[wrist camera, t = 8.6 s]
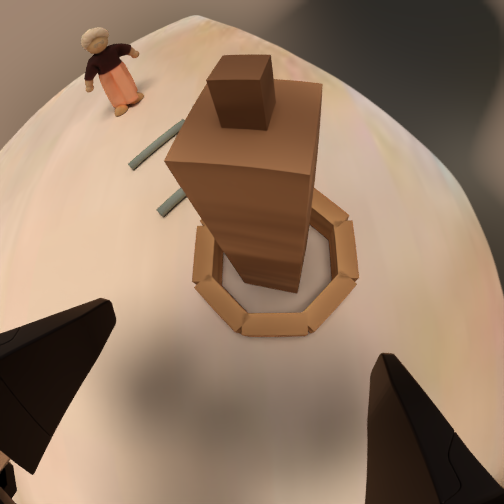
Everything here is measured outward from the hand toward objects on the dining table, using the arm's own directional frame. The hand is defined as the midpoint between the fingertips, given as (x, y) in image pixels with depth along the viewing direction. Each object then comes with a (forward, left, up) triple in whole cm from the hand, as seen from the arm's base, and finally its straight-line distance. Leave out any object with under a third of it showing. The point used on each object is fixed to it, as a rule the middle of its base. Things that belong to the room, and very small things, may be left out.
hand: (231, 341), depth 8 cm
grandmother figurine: (+8, +31, -10) cm, 34 cm away
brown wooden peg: (+5, +3, -10) cm, 11 cm away
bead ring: (+5, +3, -10) cm, 11 cm away
